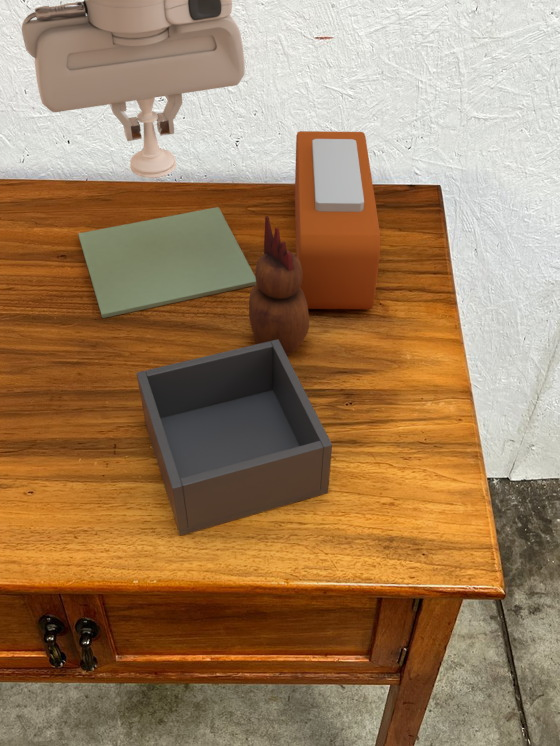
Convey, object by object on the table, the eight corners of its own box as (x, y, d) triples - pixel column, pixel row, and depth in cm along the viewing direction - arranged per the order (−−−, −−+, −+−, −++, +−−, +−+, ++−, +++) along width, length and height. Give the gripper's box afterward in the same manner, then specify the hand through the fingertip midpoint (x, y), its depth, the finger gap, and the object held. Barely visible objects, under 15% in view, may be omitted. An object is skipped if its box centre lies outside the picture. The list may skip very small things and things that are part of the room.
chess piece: (177, 153, 85) (169, 64, 78) (175, 177, 82) (165, 86, 75) (132, 154, 85) (119, 64, 78) (128, 178, 82) (114, 86, 74)
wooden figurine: (243, 328, 84) (239, 210, 74) (294, 317, 86) (297, 201, 75) (261, 370, 80) (259, 252, 69) (314, 358, 81) (320, 240, 70)
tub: (179, 536, 66) (172, 488, 61) (145, 421, 75) (136, 372, 70) (328, 493, 69) (332, 444, 64) (278, 388, 78) (278, 338, 73)
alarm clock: (372, 317, 86) (383, 232, 78) (297, 316, 86) (300, 231, 78) (357, 196, 103) (365, 116, 94) (294, 196, 102) (296, 115, 94)
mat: (102, 318, 85) (101, 314, 85) (78, 237, 96) (77, 233, 95) (257, 285, 90) (257, 281, 89) (218, 210, 100) (218, 206, 100)
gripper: (20, 23, 66) (53, 166, 76) (248, -5, 71) (251, 134, 81) (13, -3, 71) (44, 136, 80) (228, -28, 75) (233, 107, 85)
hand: (150, 135), depth 81 cm, fingers closed on chess piece
